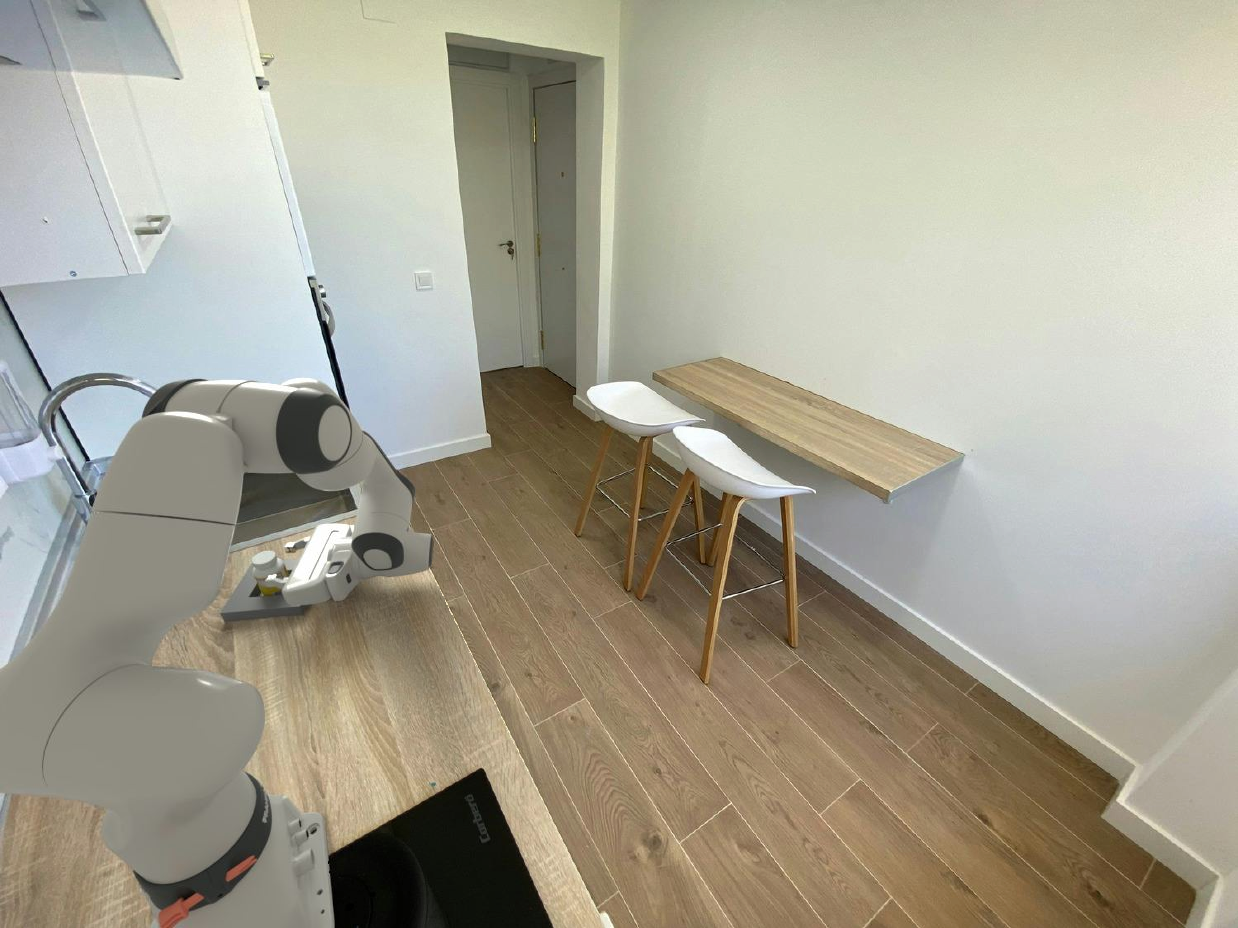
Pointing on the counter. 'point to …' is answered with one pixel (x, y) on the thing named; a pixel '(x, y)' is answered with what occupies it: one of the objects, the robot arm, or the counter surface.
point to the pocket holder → (258, 600)
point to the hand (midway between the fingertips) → (276, 563)
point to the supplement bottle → (268, 571)
